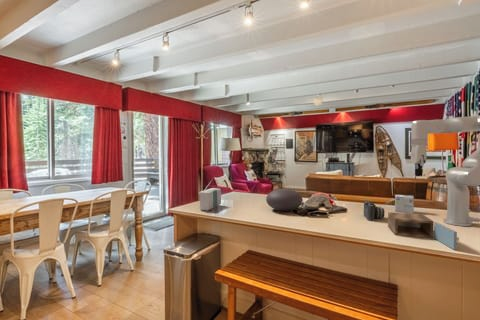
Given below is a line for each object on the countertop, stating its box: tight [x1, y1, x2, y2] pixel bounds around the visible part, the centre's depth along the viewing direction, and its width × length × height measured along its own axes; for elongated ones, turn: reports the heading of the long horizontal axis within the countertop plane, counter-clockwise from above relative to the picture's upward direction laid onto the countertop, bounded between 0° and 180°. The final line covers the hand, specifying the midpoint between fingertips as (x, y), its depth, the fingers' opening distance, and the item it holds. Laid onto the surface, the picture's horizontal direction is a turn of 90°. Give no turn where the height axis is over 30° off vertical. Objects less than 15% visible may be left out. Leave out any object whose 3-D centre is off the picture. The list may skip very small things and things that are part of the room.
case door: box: [433, 221, 460, 251], centre depth 117 cm, size 15×2×7 cm, turn 170°
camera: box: [363, 199, 385, 222], centre depth 161 cm, size 14×11×10 cm
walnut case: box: [387, 212, 435, 239], centre depth 134 cm, size 16×14×8 cm
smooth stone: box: [265, 188, 304, 212], centre depth 183 cm, size 25×25×15 cm
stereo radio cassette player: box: [198, 178, 222, 212], centre depth 192 cm, size 21×8×20 cm, turn 159°
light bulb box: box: [394, 194, 415, 214], centre depth 177 cm, size 11×7×11 cm, turn 58°
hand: (418, 175), depth 146 cm, fingers closed
